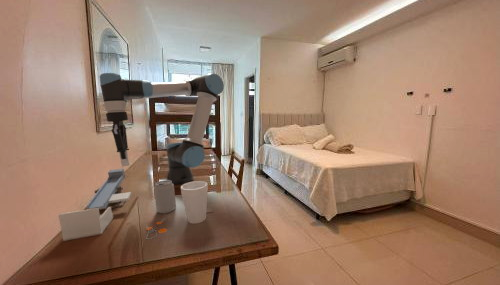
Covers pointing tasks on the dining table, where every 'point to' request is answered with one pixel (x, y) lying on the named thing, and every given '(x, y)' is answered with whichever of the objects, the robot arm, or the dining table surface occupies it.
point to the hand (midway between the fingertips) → (125, 165)
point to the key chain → (155, 230)
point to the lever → (109, 191)
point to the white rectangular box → (84, 223)
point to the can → (164, 196)
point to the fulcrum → (114, 204)
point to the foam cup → (195, 200)
